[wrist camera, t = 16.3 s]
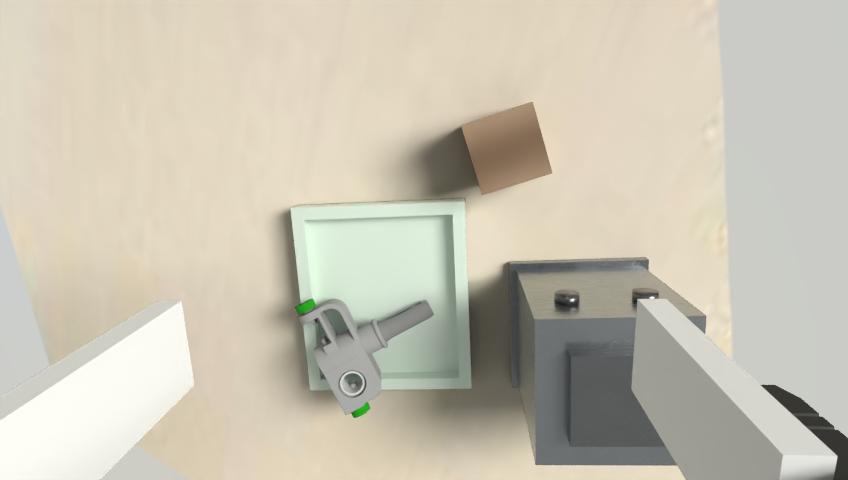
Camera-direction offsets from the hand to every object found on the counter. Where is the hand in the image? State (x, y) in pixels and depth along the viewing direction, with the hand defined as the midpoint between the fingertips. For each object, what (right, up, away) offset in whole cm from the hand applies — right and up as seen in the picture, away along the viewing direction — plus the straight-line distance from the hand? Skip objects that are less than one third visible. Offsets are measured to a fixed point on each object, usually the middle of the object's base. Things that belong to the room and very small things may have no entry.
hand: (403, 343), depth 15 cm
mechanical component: (+1, -2, +28) cm, 28 cm away
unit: (+13, -4, +29) cm, 32 cm away
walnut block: (+7, +10, +26) cm, 29 cm away
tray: (-3, -2, +29) cm, 30 cm away
